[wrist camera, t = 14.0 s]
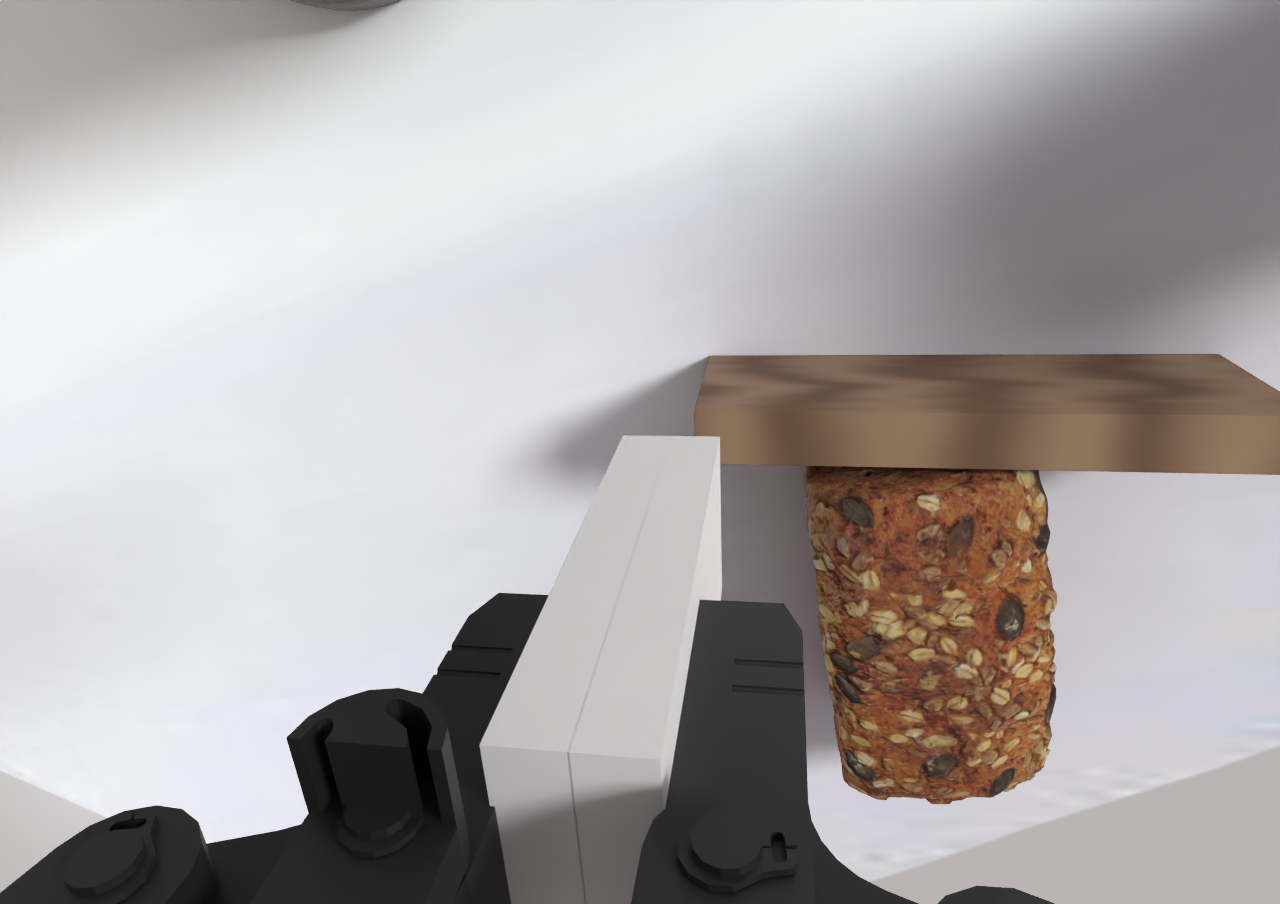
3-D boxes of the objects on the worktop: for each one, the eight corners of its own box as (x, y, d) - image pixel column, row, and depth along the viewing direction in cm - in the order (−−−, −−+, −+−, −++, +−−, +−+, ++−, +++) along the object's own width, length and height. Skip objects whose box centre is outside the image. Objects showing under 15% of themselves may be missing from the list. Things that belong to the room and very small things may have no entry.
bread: (799, 424, 43) (803, 513, 34) (1013, 400, 41) (1078, 489, 32) (832, 701, 50) (843, 835, 41) (1016, 694, 48) (1070, 835, 39)
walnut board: (710, 400, 43) (695, 463, 36) (709, 355, 42) (694, 411, 35) (1206, 403, 39) (1301, 475, 32) (1218, 354, 38) (1319, 415, 31)
